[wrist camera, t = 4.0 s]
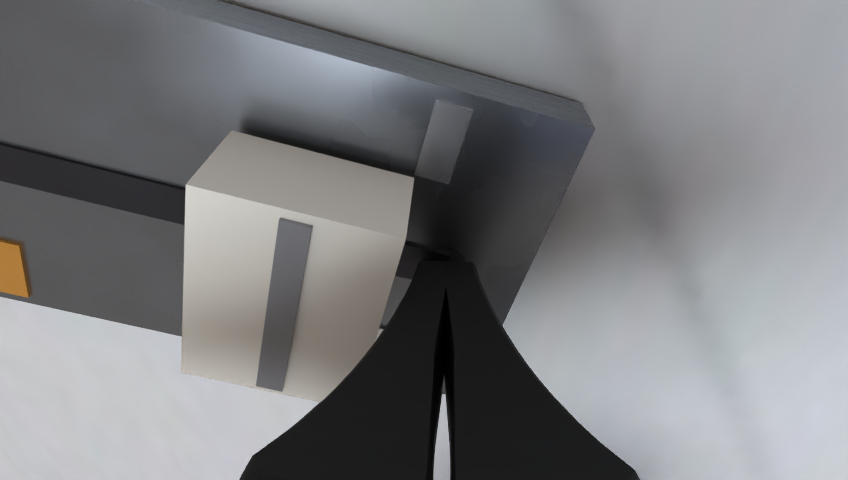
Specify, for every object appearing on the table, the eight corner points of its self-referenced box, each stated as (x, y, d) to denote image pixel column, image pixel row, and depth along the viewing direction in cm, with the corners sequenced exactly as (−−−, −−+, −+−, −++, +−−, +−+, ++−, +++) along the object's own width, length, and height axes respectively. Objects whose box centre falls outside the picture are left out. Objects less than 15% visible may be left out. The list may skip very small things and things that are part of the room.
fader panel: (581, 102, 13) (595, 130, 12) (466, 362, 18) (467, 401, 17) (-154, -105, 11) (-234, -101, 10) (-57, 243, 16) (-102, 277, 15)
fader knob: (414, 177, 12) (405, 242, 10) (368, 336, 15) (354, 412, 13) (231, 130, 12) (183, 187, 10) (219, 302, 15) (179, 375, 12)
